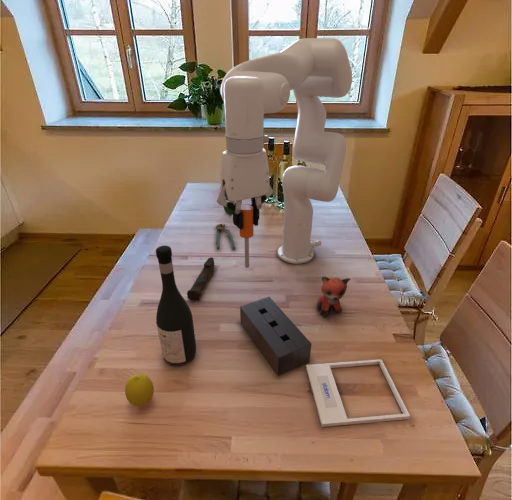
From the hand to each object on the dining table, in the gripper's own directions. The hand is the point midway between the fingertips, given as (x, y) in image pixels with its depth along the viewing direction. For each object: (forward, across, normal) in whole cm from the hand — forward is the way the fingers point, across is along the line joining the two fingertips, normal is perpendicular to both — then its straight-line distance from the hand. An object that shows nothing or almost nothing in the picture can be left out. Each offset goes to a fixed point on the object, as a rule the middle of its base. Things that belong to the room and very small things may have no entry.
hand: (246, 224), depth 81 cm
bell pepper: (+29, -25, -64) cm, 75 cm away
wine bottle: (+29, +20, +3) cm, 36 cm away
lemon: (+29, +31, +12) cm, 44 cm away
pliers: (+29, -13, -45) cm, 55 cm away
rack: (+29, -2, +10) cm, 31 cm away
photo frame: (+29, -10, +31) cm, 44 cm away
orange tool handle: (+12, 0, 0) cm, 12 cm away
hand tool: (+29, +5, -22) cm, 37 cm away
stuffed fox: (+29, -23, +6) cm, 38 cm away
